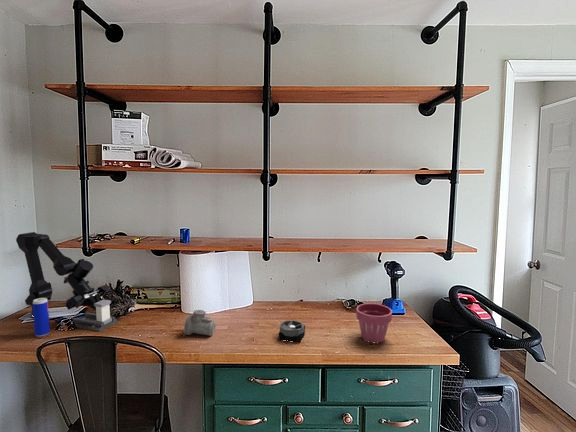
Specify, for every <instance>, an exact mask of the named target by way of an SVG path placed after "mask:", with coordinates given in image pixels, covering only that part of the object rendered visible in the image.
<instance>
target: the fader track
mask: <svg viewBox="0 0 576 432" xmlns="http://www.w3.org/2000/svg"><path fill="white" fill-rule="evenodd" d="M110 318H112V321H111V322H109V323H107V324H105V325H104V323H102V322H97V321H95V320H97V318H96V313H91V312H85V313H84V317H81V318H79V317H74V318H72V322H73V321H74V322H76V323H74V324H75V325H76V327H77V329H83V330H89V331H94V332H99V333H100V332H101V331H103V330H105V329H107V328H110V327H111V326H113V325H115V324H117V323H118V319H117V318H116V316H111V315H110ZM76 327H75V328H76Z"/></svg>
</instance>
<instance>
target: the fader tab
mask: <svg viewBox="0 0 576 432" xmlns="http://www.w3.org/2000/svg"><path fill="white" fill-rule="evenodd" d="M110 304H112V300H110V299H100V301H99V302H97V303H94V306H96V310H95V314H96V318H97V320H95V321H97V322H102V323H104V325H105V324H107V323H109V322H111V321H112V318H110V316H111V313H110V312H111V310H110V309H111V308H110Z"/></svg>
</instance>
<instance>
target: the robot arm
mask: <svg viewBox="0 0 576 432" xmlns="http://www.w3.org/2000/svg"><path fill="white" fill-rule="evenodd" d="M15 241H16V244H17V246H18V249H19V250H21V251H22V252H23V253H24V256H25V260H26V265H27V269H28V274H29V277H30V281H31V282H30V283H31V284H30V287H29V289H28V293H29V295H28V296H27V297H26V299H25V300H24V302H25V304H26V305H27V306H31V313H30V315H31V314H32V315H33V300H35V299H38V298H47V300H48V301H50V300H51V299H52V295H53V288H52V284H51V282H47V280H45V277H44V272H43V268H42V263H41V259H40V256H39V255H40V254H39V251H38V250H39V248H40V249H41V250H42V252H43V253H44V254H45V255H46V256H47V257H48V259H50V260H51V261H50V262H52V264H53V265H52V266H53V270H54V271H55V272H56V275H58V276H59V277H63V276H65V277H63V278H64V279H63V284H65V285H66V284H68V285H69V286H70V287H71V289H73V290H72V294H73V296H71V297H70V298H68V299H67V300H66V302H65V303H66V304H65V307H66V308H67V310H73V309H74V308H75V309H78V308H79V307H83V306H85V307H86V306H87V307H89V308H90V309H93V310H94V311H96V306H94V303H97V302H99V301H101V299H100V298H101V297H104V296H105V294H106V293H107V292H108V291H109V289H110V287H109V286H108V285H107V284H103V285H101V286H98V287H97V288H95V287H91V286H90V285H89V283H90V281H89V280H85V278H86V277H88V275H89V273H91V271H92V270H93V269H94V264H93V263H92V262H90V261H88V260H85V259H84V258H80V259H79V260H77V262H75V261H74V260H73V259H72V258H71V257H68V256H65V255H64V254H63V253H62V251H61V250H59V248H58V247H57V246H56V245H55V243H53V241H52V240H51V239H50V236H49V235H48V234H46V233H44V234H43V233H37V232H35V231H31V232H26V233H19V234H18V235H17V237H16V238H15ZM66 275H67V276H66ZM95 289H96V290H95Z"/></svg>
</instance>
